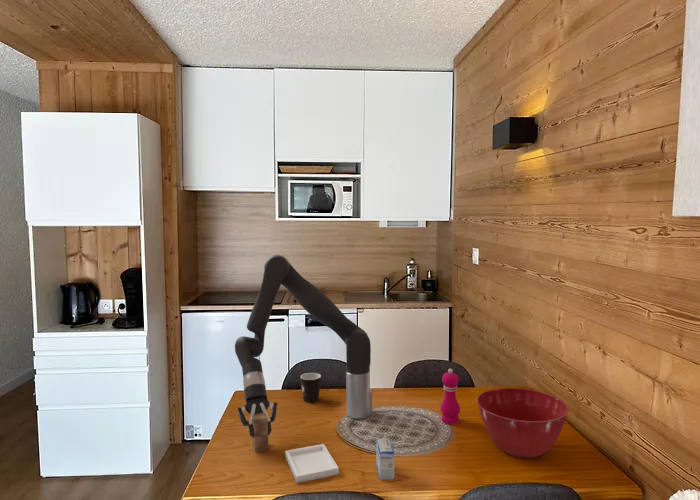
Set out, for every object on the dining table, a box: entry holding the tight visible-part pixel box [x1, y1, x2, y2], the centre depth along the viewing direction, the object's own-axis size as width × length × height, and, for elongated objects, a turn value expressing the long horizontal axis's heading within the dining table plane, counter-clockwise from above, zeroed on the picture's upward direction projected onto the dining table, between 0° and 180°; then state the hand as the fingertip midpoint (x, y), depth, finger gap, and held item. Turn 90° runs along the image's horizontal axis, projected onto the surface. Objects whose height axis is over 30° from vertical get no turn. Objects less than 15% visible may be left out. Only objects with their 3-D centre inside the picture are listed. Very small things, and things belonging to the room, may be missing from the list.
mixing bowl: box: [476, 387, 570, 459], centre depth 158 cm, size 28×28×16 cm
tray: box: [284, 443, 340, 484], centre depth 150 cm, size 13×16×2 cm
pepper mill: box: [440, 368, 461, 425], centre depth 179 cm, size 7×7×20 cm
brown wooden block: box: [252, 413, 269, 453], centre depth 161 cm, size 4×4×11 cm
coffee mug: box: [300, 372, 322, 403], centre depth 203 cm, size 12×9×10 cm
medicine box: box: [375, 438, 396, 481], centre depth 145 cm, size 8×4×9 cm, turn 5°
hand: (261, 435), depth 159 cm, fingers closed on brown wooden block, 4 cm apart
